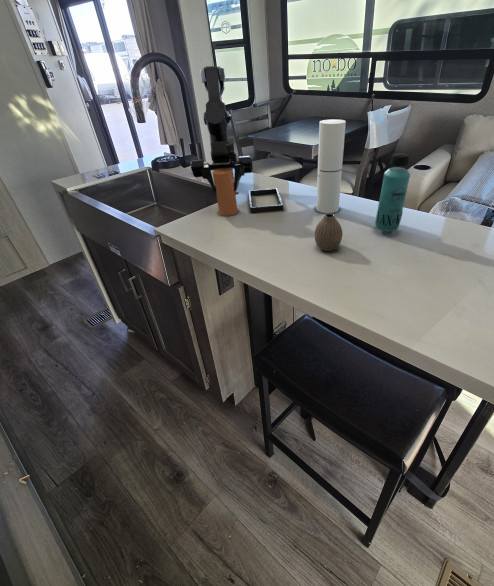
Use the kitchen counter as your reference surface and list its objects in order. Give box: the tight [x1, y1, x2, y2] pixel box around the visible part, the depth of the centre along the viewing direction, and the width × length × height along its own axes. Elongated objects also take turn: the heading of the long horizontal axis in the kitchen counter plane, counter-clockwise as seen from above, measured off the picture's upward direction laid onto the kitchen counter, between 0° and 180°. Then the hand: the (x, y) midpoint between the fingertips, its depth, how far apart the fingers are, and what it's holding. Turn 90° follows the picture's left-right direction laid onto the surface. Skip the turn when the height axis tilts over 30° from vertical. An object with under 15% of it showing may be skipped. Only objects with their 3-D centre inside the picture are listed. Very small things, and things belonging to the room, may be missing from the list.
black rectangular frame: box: [247, 187, 284, 214], centre depth 106 cm, size 17×11×2 cm, turn 6°
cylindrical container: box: [315, 118, 346, 214], centre depth 93 cm, size 7×7×25 cm
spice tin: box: [212, 168, 239, 217], centre depth 97 cm, size 6×6×13 cm
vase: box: [314, 213, 343, 252], centre depth 77 cm, size 7×7×9 cm
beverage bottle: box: [374, 153, 411, 232], centre depth 80 cm, size 6×7×20 cm
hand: (225, 192), depth 96 cm, fingers closed on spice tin, 6 cm apart
